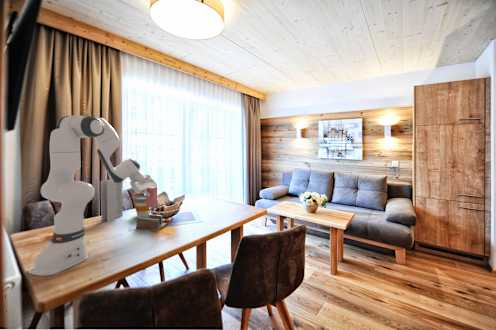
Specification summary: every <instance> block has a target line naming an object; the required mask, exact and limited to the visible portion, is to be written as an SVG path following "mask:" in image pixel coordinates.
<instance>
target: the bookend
mask: <svg viewBox="0 0 496 330" xmlns="http://www.w3.org/2000/svg"><path fill="white" fill-rule="evenodd" d="M147 218H150V219H159V224H162V223H163V215H161V214H153V213H150V214H149V215H148V217H147Z"/></svg>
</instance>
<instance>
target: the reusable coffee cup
mask: <svg viewBox="0 0 496 330" xmlns="http://www.w3.org/2000/svg"><path fill="white" fill-rule="evenodd" d="M134 203H135V204H134V207H135V211H136V216H137V217H136V218H138V217H139V218H148V215H149V214H151V210H150V209H149V207H148V206H146V195H141V196H140V195H139V196H135V197H134Z"/></svg>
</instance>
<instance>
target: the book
mask: <svg viewBox="0 0 496 330" xmlns="http://www.w3.org/2000/svg"><path fill="white" fill-rule="evenodd" d="M146 190H147V192H149V193H150V194H151V195H150V196H147V195H146V194H145V196H146V206H148V207H151V208H155V207H157V206H158V186H157V187H148V189H146Z"/></svg>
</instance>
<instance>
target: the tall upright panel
mask: <svg viewBox="0 0 496 330" xmlns="http://www.w3.org/2000/svg"><path fill="white" fill-rule="evenodd" d="M100 202H101V203H100V213H101V215H100V217H101V222H103V221H105V220H107V222H108V223H109V222H112V221H113V220H116V219H119V218H122V217H123V216H124V215H123V181H122V182H121V183H114V182H113V181H112V180H111V179H110V178H109V179H105V180H104V179H103V180H100Z"/></svg>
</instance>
